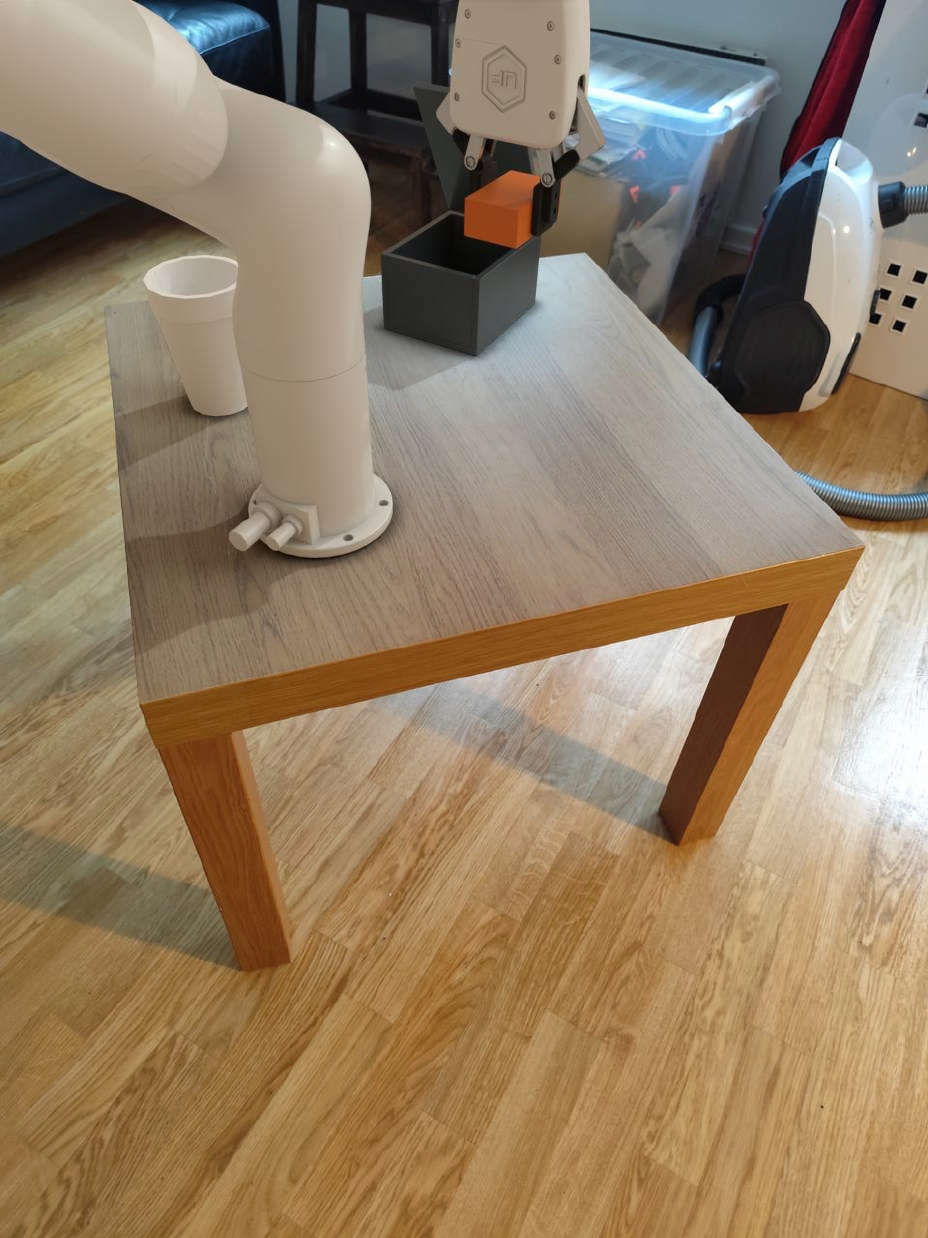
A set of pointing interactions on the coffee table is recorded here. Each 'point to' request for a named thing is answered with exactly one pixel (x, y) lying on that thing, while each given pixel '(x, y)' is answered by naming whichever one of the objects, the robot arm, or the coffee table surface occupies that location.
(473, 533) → the coffee table surface
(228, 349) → the foam cup
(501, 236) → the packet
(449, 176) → the lid
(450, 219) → the bin
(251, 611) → the coffee table surface
